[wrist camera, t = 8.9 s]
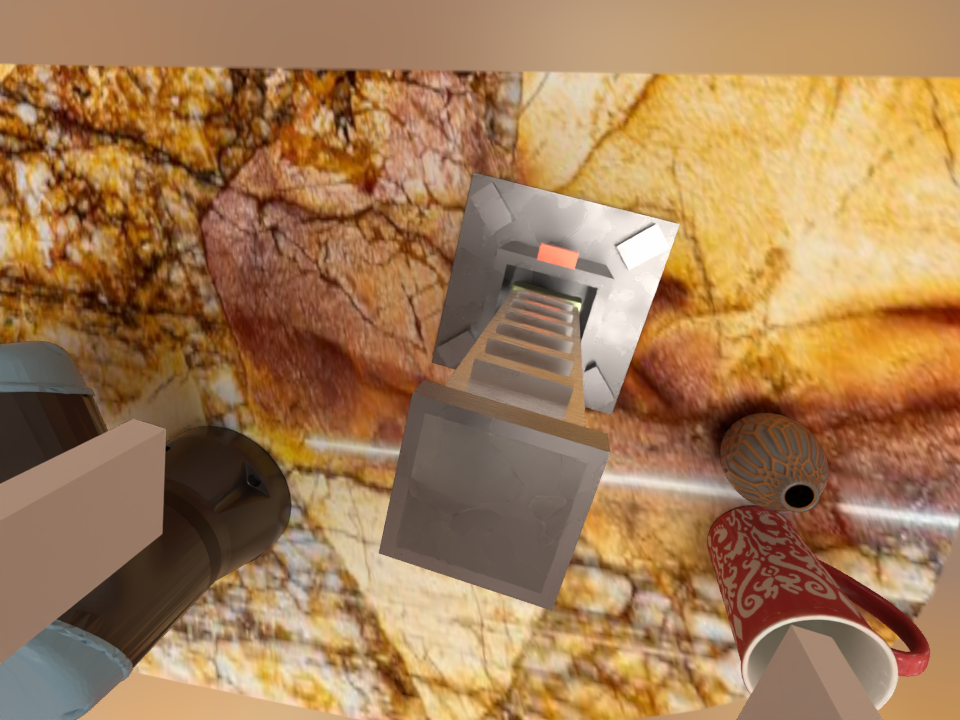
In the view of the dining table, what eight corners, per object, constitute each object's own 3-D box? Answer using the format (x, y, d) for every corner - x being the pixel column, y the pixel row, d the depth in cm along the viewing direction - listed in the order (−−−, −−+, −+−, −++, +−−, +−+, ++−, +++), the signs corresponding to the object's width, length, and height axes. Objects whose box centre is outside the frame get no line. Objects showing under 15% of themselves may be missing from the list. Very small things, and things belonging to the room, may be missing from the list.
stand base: (434, 359, 45) (400, 397, 36) (475, 173, 39) (447, 163, 30) (610, 410, 43) (620, 463, 34) (677, 223, 38) (709, 228, 29)
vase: (819, 424, 40) (882, 480, 32) (768, 489, 43) (815, 557, 35) (741, 387, 41) (784, 433, 32) (694, 454, 43) (723, 513, 35)
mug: (686, 574, 47) (729, 712, 34) (705, 489, 44) (759, 604, 31) (834, 598, 45) (938, 754, 32) (863, 510, 42) (990, 643, 29)
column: (496, 342, 34) (378, 552, 13) (514, 271, 33) (414, 386, 12) (564, 362, 34) (551, 610, 13) (586, 290, 32) (613, 445, 11)
